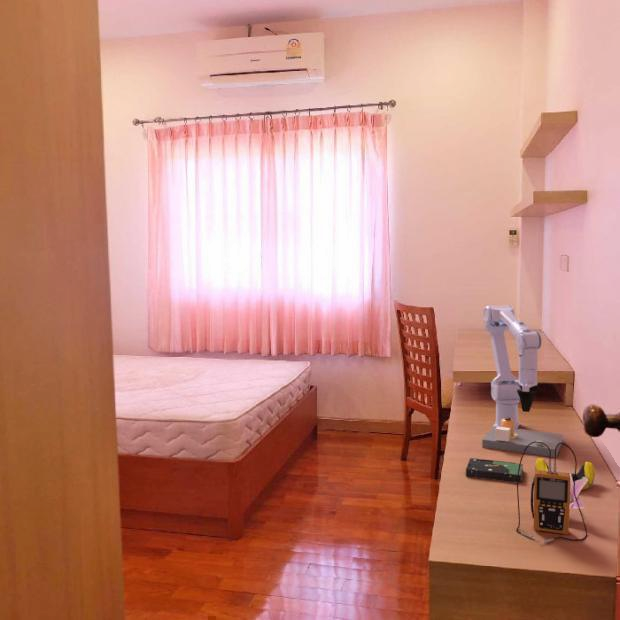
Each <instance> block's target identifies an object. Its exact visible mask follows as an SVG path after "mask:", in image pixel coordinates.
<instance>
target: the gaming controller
mask: <svg viewBox="0 0 620 620" xmlns="http://www.w3.org/2000/svg"><path fill="white" fill-rule="evenodd" d="M548 466H549V464H548V463H547V462H546V459H545V458H544V457H539V458H537V459H536V461H535V464H534V471H535V470H542V471H548ZM551 472H553V471H552V470H551ZM567 473H568V474H569V473H571V476H572V480H573V482H574V477H575V473H573V472H567ZM595 476H596V469H595V467H594V465H593V463H592V462H590V461H584V463H583V464H582V465H581V467H580V469H579V471H578V473H577V472H576V478H575V481H577V480H580V479H585V478H587V479H588V481H587V482H586V484H585V485H584V487H583V488H582V489H581V491H582V490H587V489H589V488H590V487H592V485H593V483H594V480H595Z"/></svg>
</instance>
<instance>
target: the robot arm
mask: <svg viewBox="0 0 620 620" xmlns="http://www.w3.org/2000/svg"><path fill="white" fill-rule="evenodd" d="M482 319H483V324H484V327H485V331H487V332H489V337H490V343H491V349H492V354H493V358H494V364H495V371H496V375H497V376H496V377H494V378H493V379H492V380H491V382H490V386H491V387H490V388H491V389H490V395H491V399H492V400H493V401H494V402H495V423H494V424H493V425H492V428H493V427H494V426H500V427H501V419H504V418H505V417H509V418H511V419H513V420H514V428H516V429H519V427H520V426H521V422H519V419H518V417H519V406H518V404H520V405H521V409H522V412H523V413H524V412H525V413H530V411H531V407H532V405H533V401H534V396H535V394H536V391H537V389H538V357H539V355H538V353H539V349H540V348H541V347H542V336H541V333H540V332H539V331H537V330H536V331H534V330H533V331H532V329H531V328H529V327H528V326H527V325H526V323H525V322H524V321H523V320H518V319H517V317H516V316H515V309H514V307H513V306H512V305H510V304H509V305H486V306H485V307H484V308H483V313H482ZM507 331H508V332H509V333H510V335H511V336H512V337H513V338H514V339H515V344H516V348H517V354H518V377H517V376H515V375H514V374H513V373H512V369H511V363H510V359H509V354H508V353H509V352H508V348H507V343H506V339H505V332H507Z"/></svg>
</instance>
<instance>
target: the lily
mask: <svg viewBox="0 0 620 620" xmlns="http://www.w3.org/2000/svg"><path fill="white" fill-rule="evenodd" d="M568 473H569V475H570V509H577V510H579V508H578V505H577V502H576V499H575V496H574V490H573V488H574V482H573V480H572V476H571V473H572V472H568ZM587 481H588V479H587V478H585V479H580V480H577V481H575V495H576V498H577V501H578V504H579V507H580V510H581V509H585V507H586V506H585V504H584V502H583V500H582V499H581V498H580V496H579V494H580V493H581V491H582V490H581V489H582V488H583V487H584V485H585V484H586V482H587ZM581 513H582V514H583V512H582V511H581Z"/></svg>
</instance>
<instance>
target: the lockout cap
mask: <svg viewBox="0 0 620 620" xmlns="http://www.w3.org/2000/svg"><path fill="white" fill-rule="evenodd" d="M501 427H506V428H510V437H512V436H514V420H513V419H511V418H509V417H505V418H504V419H501Z"/></svg>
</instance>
